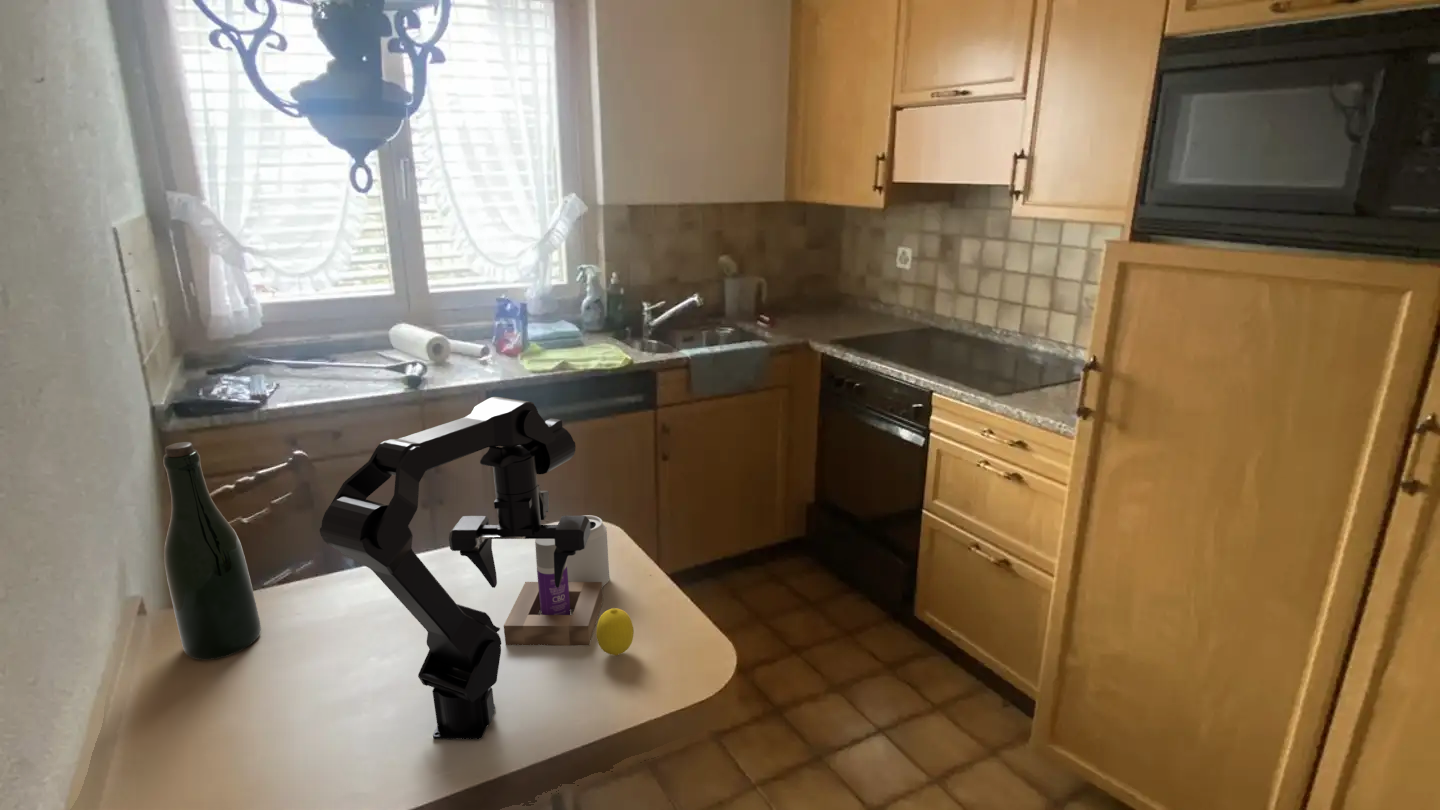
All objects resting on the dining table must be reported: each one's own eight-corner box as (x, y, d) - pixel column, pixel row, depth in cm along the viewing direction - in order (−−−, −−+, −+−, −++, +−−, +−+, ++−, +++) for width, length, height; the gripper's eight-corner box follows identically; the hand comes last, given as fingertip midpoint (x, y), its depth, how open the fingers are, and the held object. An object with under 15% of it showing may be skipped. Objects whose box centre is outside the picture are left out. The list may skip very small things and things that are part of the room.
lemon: (628, 668, 116) (625, 621, 114) (592, 663, 117) (589, 617, 115) (639, 646, 121) (637, 600, 119) (605, 642, 122) (602, 597, 120)
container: (557, 633, 125) (550, 548, 120) (535, 625, 127) (527, 541, 123) (577, 619, 128) (571, 536, 124) (555, 611, 131) (549, 529, 126)
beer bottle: (261, 650, 121) (217, 449, 111) (180, 670, 117) (127, 463, 107) (263, 616, 130) (223, 428, 120) (188, 634, 126) (140, 439, 116)
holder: (505, 645, 122) (503, 625, 121) (527, 599, 134) (525, 581, 133) (589, 645, 122) (588, 625, 120) (603, 600, 134) (601, 581, 133)
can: (606, 594, 136) (602, 531, 132) (563, 594, 136) (558, 531, 132) (612, 572, 143) (609, 512, 139) (571, 572, 143) (566, 512, 139)
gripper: (593, 464, 116) (600, 558, 121) (468, 464, 117) (479, 558, 121) (579, 495, 106) (587, 597, 110) (441, 496, 106) (454, 597, 111)
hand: (526, 586), depth 114 cm, fingers open, 9 cm apart
